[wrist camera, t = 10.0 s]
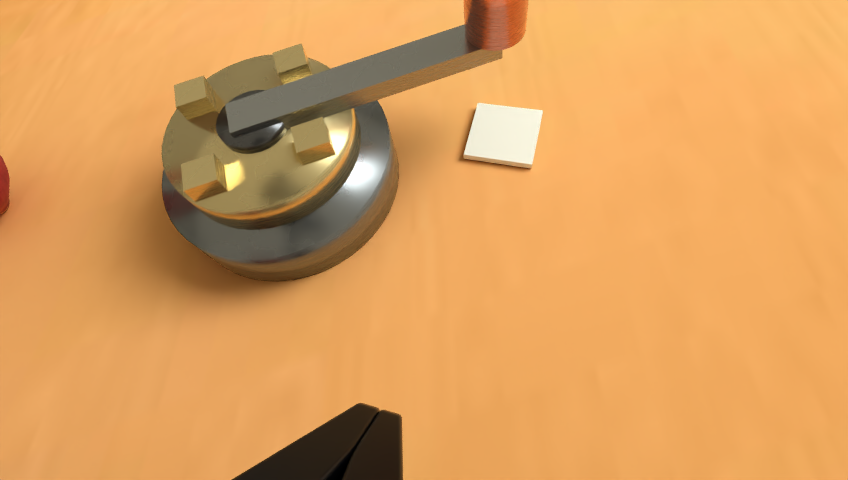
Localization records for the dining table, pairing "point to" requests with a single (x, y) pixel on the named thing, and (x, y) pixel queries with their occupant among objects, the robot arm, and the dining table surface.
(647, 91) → the dining table surface
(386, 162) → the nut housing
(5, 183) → the onion
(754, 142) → the dining table surface
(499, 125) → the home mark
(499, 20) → the copper crank handle
